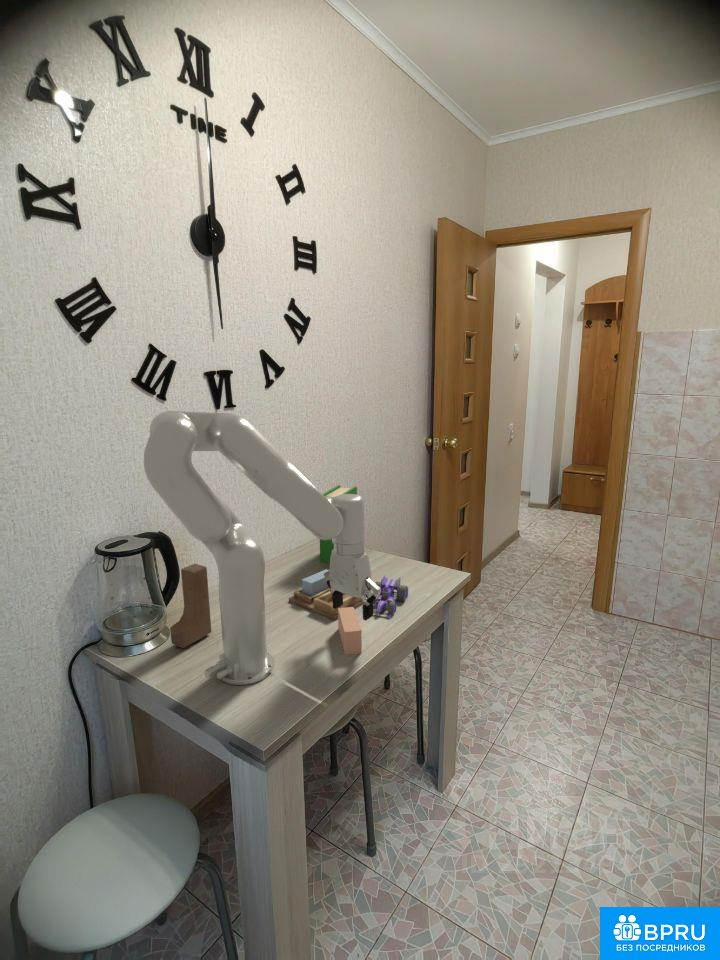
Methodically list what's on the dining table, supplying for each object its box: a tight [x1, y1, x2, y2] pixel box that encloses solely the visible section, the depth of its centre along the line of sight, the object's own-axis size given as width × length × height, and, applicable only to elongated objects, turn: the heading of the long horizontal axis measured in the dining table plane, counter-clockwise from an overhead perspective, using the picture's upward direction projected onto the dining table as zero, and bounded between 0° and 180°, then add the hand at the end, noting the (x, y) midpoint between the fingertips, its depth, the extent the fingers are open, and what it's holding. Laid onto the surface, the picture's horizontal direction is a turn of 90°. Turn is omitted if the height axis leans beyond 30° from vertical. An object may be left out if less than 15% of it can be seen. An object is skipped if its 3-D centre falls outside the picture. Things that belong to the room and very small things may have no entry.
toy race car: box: [373, 575, 409, 620], centre depth 139 cm, size 10×15×6 cm, turn 160°
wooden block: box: [169, 563, 212, 649], centre depth 121 cm, size 9×4×18 cm, turn 149°
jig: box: [288, 587, 369, 621], centre depth 143 cm, size 17×18×4 cm
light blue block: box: [301, 568, 330, 597], centre depth 146 cm, size 10×4×5 cm, turn 140°
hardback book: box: [319, 484, 358, 564], centre depth 175 cm, size 18×7×24 cm, turn 161°
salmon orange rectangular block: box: [337, 607, 363, 656], centre depth 121 cm, size 12×4×6 cm, turn 10°
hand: (352, 612), depth 120 cm, fingers open, 9 cm apart
